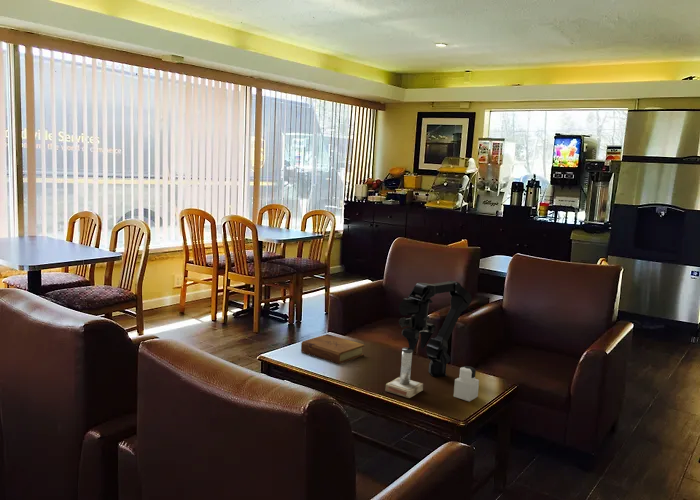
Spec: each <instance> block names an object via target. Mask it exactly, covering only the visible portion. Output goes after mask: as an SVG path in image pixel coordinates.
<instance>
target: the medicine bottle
mask: <svg viewBox="0 0 700 500" xmlns="http://www.w3.org/2000/svg"><path fill="white" fill-rule="evenodd" d="M479 384H480V380H479V379H477V378H476V368H474V367H472V366H470V365H469V366H468V365H464V366H461V367H460V368H459V377H457V378H455V379H454V384H453V385H454V386H453V397H454V398H457V399H461V400H463V401H466V402H471V401H473V400H475V399H476V398H478V397H479Z"/></svg>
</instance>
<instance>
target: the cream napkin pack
mask: <svg viewBox="0 0 700 500" xmlns="http://www.w3.org/2000/svg"><path fill="white" fill-rule="evenodd" d="M422 391H424V382H419V381H415V380H412V379H410V384H409V385H403V384H400V376H398V377H396V378H395V379H393V380H391V381H390V382H387V383H386V384H385V390H384V392H388V393H391V394H394V395H397V396H401V397H404V398H407V399H411V398H412V397H414V396H416V395H417V394H419V393H420V392H422Z"/></svg>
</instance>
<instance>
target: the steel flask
mask: <svg viewBox="0 0 700 500" xmlns="http://www.w3.org/2000/svg"><path fill="white" fill-rule="evenodd" d="M413 353H414V351H413V349H412V348H409V347H407V346H406V347H402V348H401V362H400V363H401V364H400V373H399V374H400V375H399V377H400V384H403V385H409V384H410V380H411V371H412V360H413Z"/></svg>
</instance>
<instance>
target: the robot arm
mask: <svg viewBox="0 0 700 500" xmlns="http://www.w3.org/2000/svg"><path fill="white" fill-rule="evenodd" d="M444 293H449V295H450V297H451V298H450V309H449V310H448V313H447V314H446V316H445V319H444V320H443V323H442V324H441V328H440V329H439V331H438V333H437V335H436V336H435V337H434V338H433V337H432V335H433V334H434V332H436V326H435V324H433V323H429V322H428V320H429V319H430V316H429V315H428V314H429V305H430V304H432V303H433V300H432V299H431V298H433V297H435V295H438V294H444ZM472 301H473V298H472V294H471V293H470V292H469V291H468V290H467V289H465V288H464V287H463V286H462V285H461V283H459V282H458V281H455V280H454V281H453V280H449V281H443V282H436V283H426V282H417V283H415V285H414V287H413V288H412V290H411V292H410V293H409V294H408V296H407V298H405V297H404V298H403V299H402V301H401V302H400V303H399V305H398V312H399V313H400V314H401V315H402V316H404V317H400V318H399V320H398V325H400V327H401V329H402V328H403V329H402V330H401V336H403V337H404V338H406V340H407V343H408V348H412V349H413V352H415V349H416V346H417V344H418V341H419V339H420V348H421V349H424V348H425V351H426V355H427V359H429V360H430V362H429V363H428V373H429V374H430V375H431V376H432V377H435V378H437V377H448V374H447V365H448V364H449V363H450V361H451V357H450V355H449V354H448V350H449V347H448V346H449V345H448V342H449V339H450V337H451V335H452V333H453V331H454V329H455V327H456V324H457V322H458V320H459V319H460V316H461V314H462V313H463V312H464V311H466V310H467V309H468V308H469V306H470V304H471V303H472ZM405 316H410V317H409V318H406V317H405ZM419 336H420V337H419ZM425 346H426V347H425Z"/></svg>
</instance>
